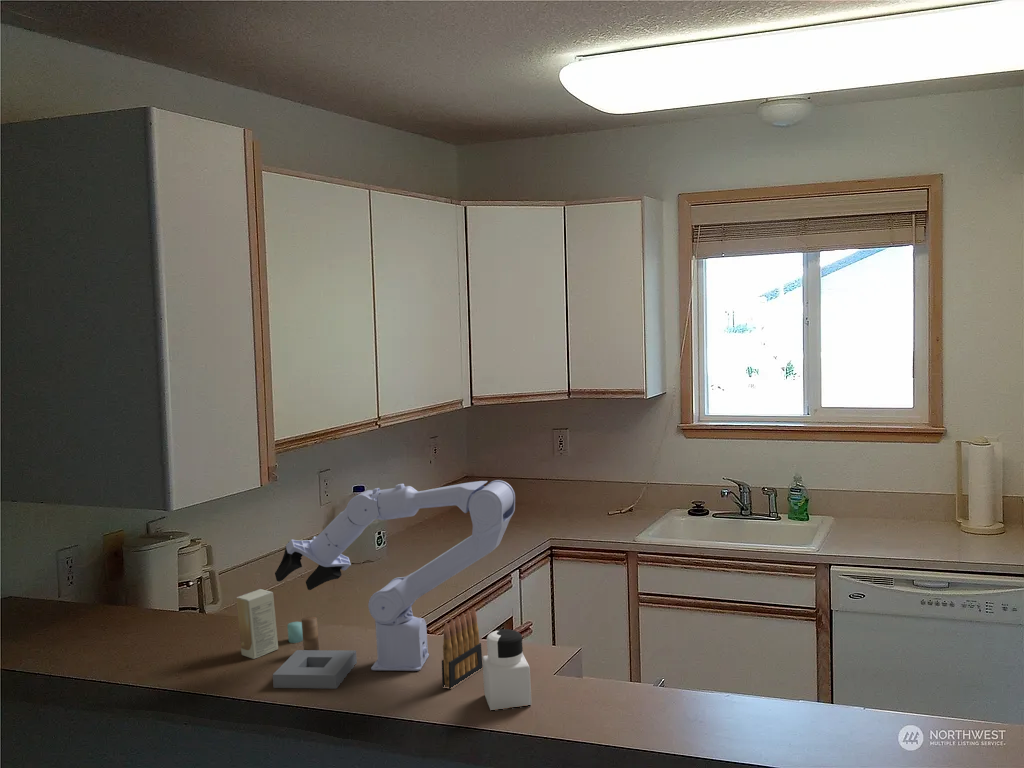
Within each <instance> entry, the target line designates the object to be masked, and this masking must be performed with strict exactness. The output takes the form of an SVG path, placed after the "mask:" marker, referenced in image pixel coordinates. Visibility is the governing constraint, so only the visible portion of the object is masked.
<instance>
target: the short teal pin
mask: <svg viewBox="0 0 1024 768" xmlns="http://www.w3.org/2000/svg"><path fill="white" fill-rule="evenodd" d="M286 626H287V639H288V640H287V641H288V643H290V644H296V643H297V644H298V643H301V642H303V634H302V621H292V622H289V623H287V625H286Z"/></svg>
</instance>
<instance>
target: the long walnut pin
mask: <svg viewBox="0 0 1024 768" xmlns="http://www.w3.org/2000/svg"><path fill="white" fill-rule="evenodd" d="M301 622H302V634H303V641H302V643H303V644H302V645H303V650H320V645H319V644H320V643H319V632H318V629H319V628H318V617H316V616H305V617H303V618H302V619H301Z"/></svg>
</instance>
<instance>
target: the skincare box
mask: <svg viewBox="0 0 1024 768" xmlns="http://www.w3.org/2000/svg"><path fill="white" fill-rule="evenodd" d="M235 599H236V609H237V620H238V630H239V639H240V651H241V655H242V656H244V657H247V658H249V659H253V660H255V659H258V658H260V657H262V656H264V655H268V654H270V653H272V652H274V651H276V650H279V642H278V629H277V622H276V621H277V619H276V610H275V599H274V592H273V591H270V590H266V589H262V588H259V589H256V590H254V591H251V592H247V593H244V594H243V595H239V596H236V598H235Z"/></svg>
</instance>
